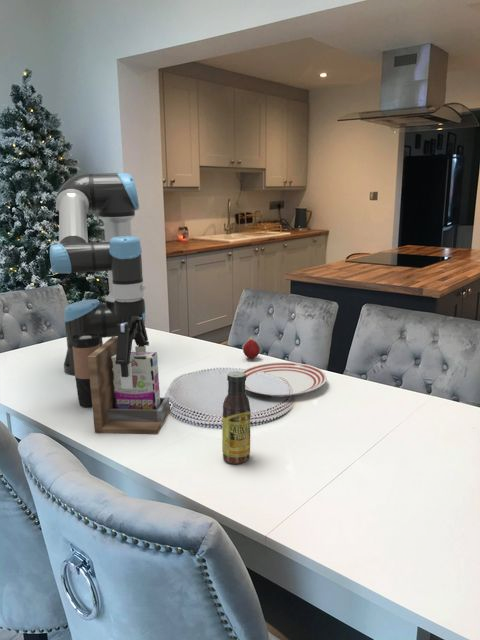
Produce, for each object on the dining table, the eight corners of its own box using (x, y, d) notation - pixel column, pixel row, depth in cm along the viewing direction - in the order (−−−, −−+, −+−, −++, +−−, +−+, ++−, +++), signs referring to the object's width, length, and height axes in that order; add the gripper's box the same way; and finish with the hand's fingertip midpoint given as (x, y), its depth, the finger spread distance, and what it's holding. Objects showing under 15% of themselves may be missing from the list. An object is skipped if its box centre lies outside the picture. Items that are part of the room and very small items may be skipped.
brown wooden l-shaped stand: (117, 404, 149) (112, 336, 145) (173, 405, 148) (169, 337, 143) (94, 432, 132) (87, 356, 127) (157, 434, 130) (152, 357, 126)
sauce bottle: (230, 468, 114) (227, 381, 109) (217, 455, 119) (214, 372, 114) (256, 460, 116) (255, 375, 112) (243, 449, 122) (241, 367, 117)
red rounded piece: (262, 358, 187) (262, 337, 185) (254, 363, 183) (254, 341, 181) (248, 356, 190) (248, 335, 188) (240, 360, 186) (239, 338, 184)
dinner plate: (282, 411, 143) (282, 400, 142) (218, 386, 163) (218, 375, 162) (345, 386, 160) (345, 375, 159) (280, 365, 180) (280, 356, 179)
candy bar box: (161, 409, 142) (157, 351, 138) (156, 417, 137) (152, 357, 134) (121, 408, 144) (117, 350, 140) (115, 416, 139) (110, 356, 135)
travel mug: (98, 409, 147) (91, 340, 142) (73, 407, 148) (65, 339, 143) (110, 398, 154) (104, 332, 149) (86, 397, 155) (79, 331, 151)
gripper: (128, 310, 120) (135, 397, 125) (156, 289, 144) (160, 362, 149) (96, 310, 120) (104, 396, 126) (129, 289, 145) (134, 362, 150)
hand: (135, 378), depth 137 cm, fingers open, 13 cm apart
